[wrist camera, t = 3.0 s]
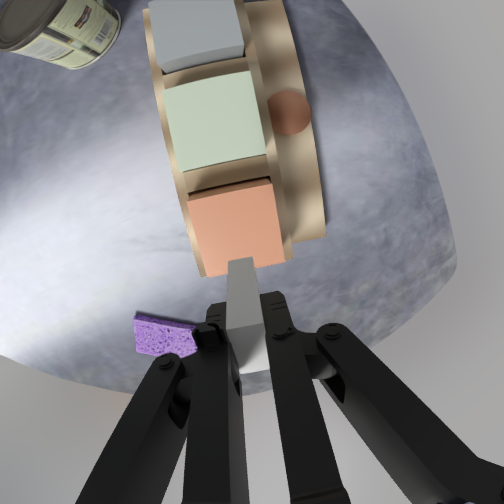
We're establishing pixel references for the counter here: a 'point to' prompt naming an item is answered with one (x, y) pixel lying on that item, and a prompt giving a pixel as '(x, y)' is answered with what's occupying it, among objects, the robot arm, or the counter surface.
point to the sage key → (214, 120)
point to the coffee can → (59, 30)
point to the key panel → (272, 121)
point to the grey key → (194, 33)
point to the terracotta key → (236, 224)
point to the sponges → (163, 337)
